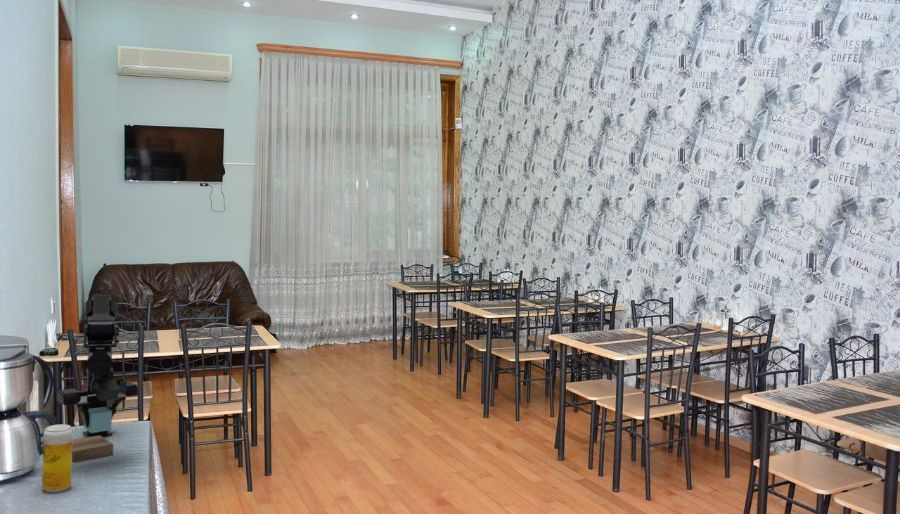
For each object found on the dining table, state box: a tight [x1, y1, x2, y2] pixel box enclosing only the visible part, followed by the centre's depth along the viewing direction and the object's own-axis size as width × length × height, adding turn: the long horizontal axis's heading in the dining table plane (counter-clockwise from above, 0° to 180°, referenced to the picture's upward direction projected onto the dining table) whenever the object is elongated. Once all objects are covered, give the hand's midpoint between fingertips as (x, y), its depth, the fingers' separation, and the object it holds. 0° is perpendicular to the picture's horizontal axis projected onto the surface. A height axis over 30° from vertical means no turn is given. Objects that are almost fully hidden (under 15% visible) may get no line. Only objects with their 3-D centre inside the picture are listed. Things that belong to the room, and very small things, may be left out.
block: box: [83, 407, 113, 433], centre depth 187 cm, size 5×5×5 cm
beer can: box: [41, 424, 73, 494], centre depth 170 cm, size 6×6×15 cm
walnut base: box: [72, 435, 114, 463], centre depth 195 cm, size 10×10×3 cm
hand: (97, 425), depth 187 cm, fingers closed on block, 5 cm apart
